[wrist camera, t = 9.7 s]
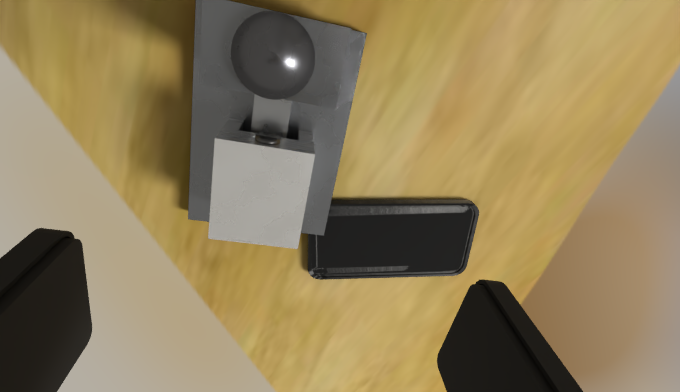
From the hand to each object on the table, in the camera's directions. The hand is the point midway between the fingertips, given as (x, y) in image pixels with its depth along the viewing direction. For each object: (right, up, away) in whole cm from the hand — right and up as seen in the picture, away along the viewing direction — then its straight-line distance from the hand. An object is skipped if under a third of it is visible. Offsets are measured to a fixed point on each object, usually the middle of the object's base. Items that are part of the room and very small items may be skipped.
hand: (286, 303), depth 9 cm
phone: (+6, -1, +25) cm, 25 cm away
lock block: (-4, +5, +19) cm, 20 cm away
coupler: (-4, +8, +19) cm, 21 cm away
